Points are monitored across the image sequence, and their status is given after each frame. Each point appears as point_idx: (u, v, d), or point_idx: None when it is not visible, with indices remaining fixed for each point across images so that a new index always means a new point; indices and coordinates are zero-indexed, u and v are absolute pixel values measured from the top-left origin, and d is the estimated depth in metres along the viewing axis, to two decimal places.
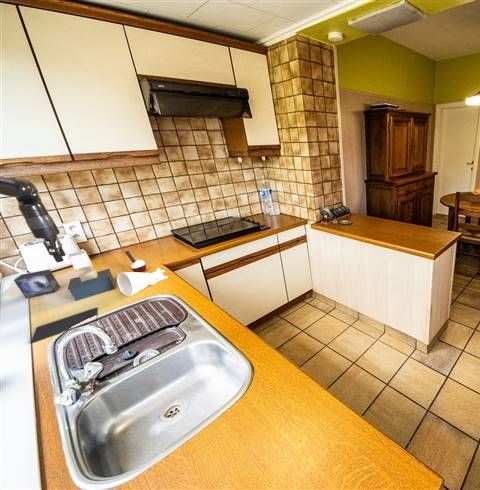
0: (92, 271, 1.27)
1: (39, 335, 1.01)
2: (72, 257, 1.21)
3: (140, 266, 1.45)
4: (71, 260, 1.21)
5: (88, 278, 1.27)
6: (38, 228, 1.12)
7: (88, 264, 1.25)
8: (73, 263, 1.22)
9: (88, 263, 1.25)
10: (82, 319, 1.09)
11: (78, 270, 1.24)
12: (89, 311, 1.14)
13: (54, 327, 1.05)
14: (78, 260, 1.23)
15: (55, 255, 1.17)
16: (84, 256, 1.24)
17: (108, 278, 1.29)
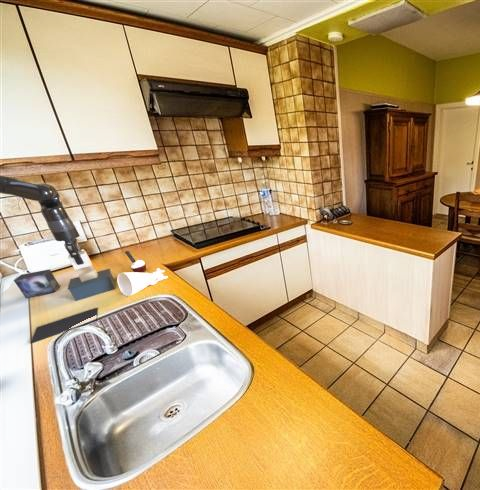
0: (92, 271, 1.27)
1: (39, 335, 1.01)
2: None
3: (140, 266, 1.45)
4: (71, 260, 1.21)
5: (88, 278, 1.27)
6: (59, 231, 1.16)
7: (88, 264, 1.25)
8: (73, 263, 1.22)
9: (88, 263, 1.25)
10: (82, 319, 1.09)
11: (78, 270, 1.24)
12: (89, 311, 1.14)
13: (54, 327, 1.05)
14: None
15: (76, 258, 1.21)
16: (84, 256, 1.24)
17: (108, 278, 1.29)
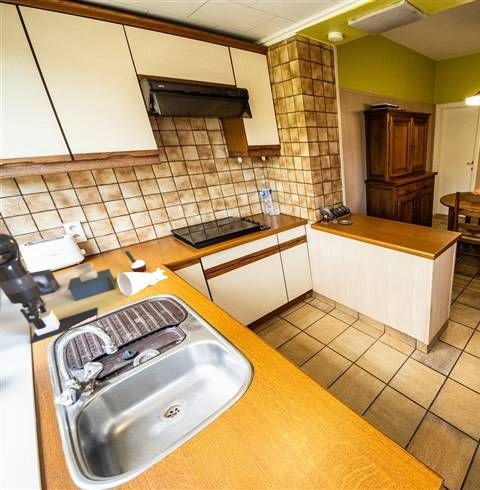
0: (92, 271, 1.27)
1: (39, 335, 1.01)
2: None
3: (140, 266, 1.45)
4: (32, 325, 0.99)
5: (88, 278, 1.27)
6: (14, 292, 0.94)
7: (55, 327, 1.04)
8: (35, 328, 1.00)
9: (55, 326, 1.04)
10: (82, 319, 1.09)
11: (78, 270, 1.24)
12: (89, 311, 1.14)
13: None
14: None
15: (36, 322, 0.98)
16: (49, 319, 1.02)
17: (108, 278, 1.29)
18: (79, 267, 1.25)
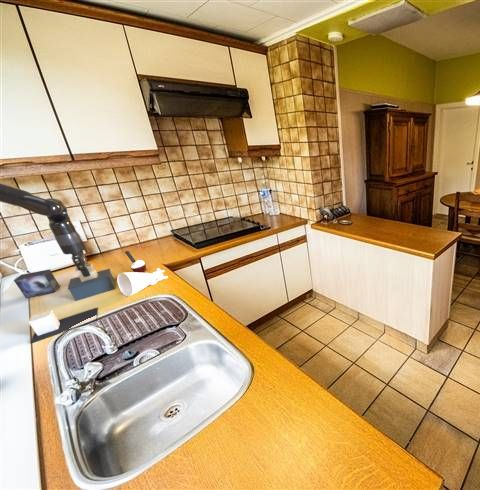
0: (92, 271, 1.27)
1: (39, 335, 1.01)
2: (34, 322, 0.99)
3: (140, 266, 1.45)
4: (32, 325, 0.99)
5: (88, 278, 1.27)
6: (67, 245, 1.18)
7: (55, 327, 1.04)
8: (35, 328, 1.00)
9: (55, 326, 1.04)
10: (82, 319, 1.09)
11: (78, 270, 1.24)
12: (89, 311, 1.14)
13: None
14: (41, 324, 1.01)
15: (83, 270, 1.24)
16: (49, 319, 1.02)
17: (108, 278, 1.29)
18: None
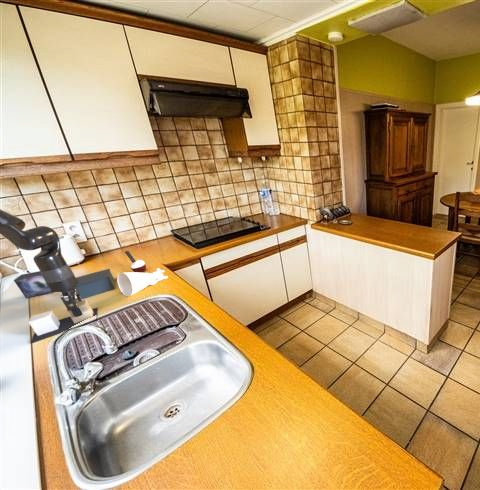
0: (87, 310, 1.09)
1: (39, 335, 1.01)
2: (34, 322, 0.99)
3: (140, 266, 1.45)
4: (32, 325, 0.99)
5: (82, 318, 1.08)
6: (55, 281, 1.00)
7: (55, 327, 1.04)
8: (35, 328, 1.00)
9: (55, 326, 1.04)
10: None
11: (70, 310, 1.05)
12: None
13: None
14: (41, 324, 1.01)
15: (74, 310, 1.04)
16: (49, 319, 1.02)
17: (108, 278, 1.29)
18: None
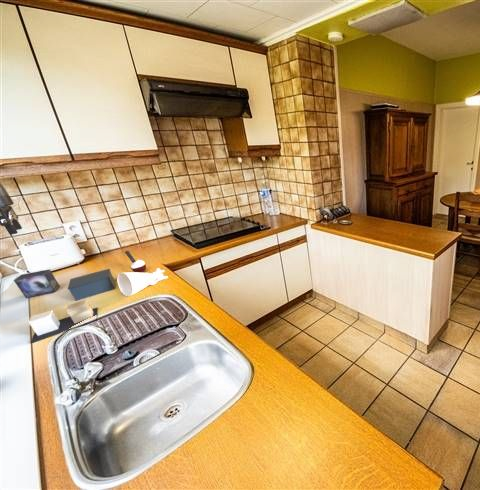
0: (87, 310, 1.09)
1: (39, 335, 1.01)
2: (34, 322, 0.99)
3: (140, 266, 1.45)
4: (32, 325, 0.99)
5: (82, 318, 1.08)
6: None
7: (55, 327, 1.04)
8: (35, 328, 1.00)
9: (55, 326, 1.04)
10: None
11: (70, 310, 1.05)
12: None
13: None
14: (41, 324, 1.01)
15: (7, 226, 1.11)
16: (49, 319, 1.02)
17: (108, 278, 1.29)
18: (71, 306, 1.07)
